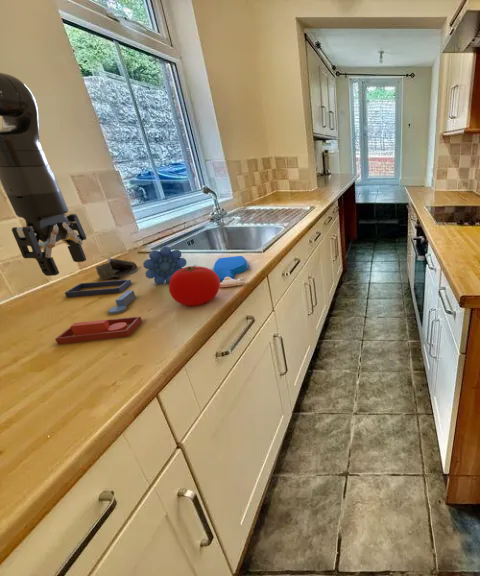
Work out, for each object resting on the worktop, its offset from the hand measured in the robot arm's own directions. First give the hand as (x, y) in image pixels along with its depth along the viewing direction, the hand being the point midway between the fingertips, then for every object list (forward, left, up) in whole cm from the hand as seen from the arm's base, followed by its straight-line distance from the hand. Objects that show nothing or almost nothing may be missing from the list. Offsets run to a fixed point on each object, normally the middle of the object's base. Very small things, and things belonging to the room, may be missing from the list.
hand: (67, 267), depth 69 cm
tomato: (+20, +10, -16) cm, 28 cm away
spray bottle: (+25, +30, -16) cm, 42 cm away
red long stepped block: (+3, -3, -15) cm, 16 cm away
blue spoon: (+1, +12, -16) cm, 20 cm away
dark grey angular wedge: (-13, +39, -16) cm, 44 cm away
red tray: (+3, -3, -16) cm, 16 cm away
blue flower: (+7, +28, -16) cm, 33 cm away
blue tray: (-11, +25, -16) cm, 32 cm away
